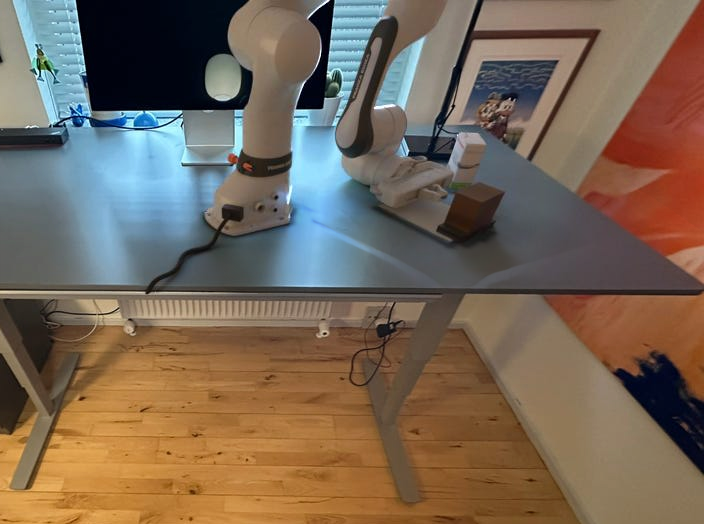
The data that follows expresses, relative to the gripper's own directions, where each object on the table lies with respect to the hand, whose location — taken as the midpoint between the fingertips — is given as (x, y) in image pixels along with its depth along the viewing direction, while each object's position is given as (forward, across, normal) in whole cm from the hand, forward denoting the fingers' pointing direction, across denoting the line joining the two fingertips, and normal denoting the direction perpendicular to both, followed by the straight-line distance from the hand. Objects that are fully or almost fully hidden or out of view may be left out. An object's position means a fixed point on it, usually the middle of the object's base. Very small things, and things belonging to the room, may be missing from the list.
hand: (443, 197), depth 93 cm
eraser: (+7, 0, +4) cm, 8 cm away
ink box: (-9, +19, +6) cm, 22 cm away
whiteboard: (-2, 0, +6) cm, 6 cm away
